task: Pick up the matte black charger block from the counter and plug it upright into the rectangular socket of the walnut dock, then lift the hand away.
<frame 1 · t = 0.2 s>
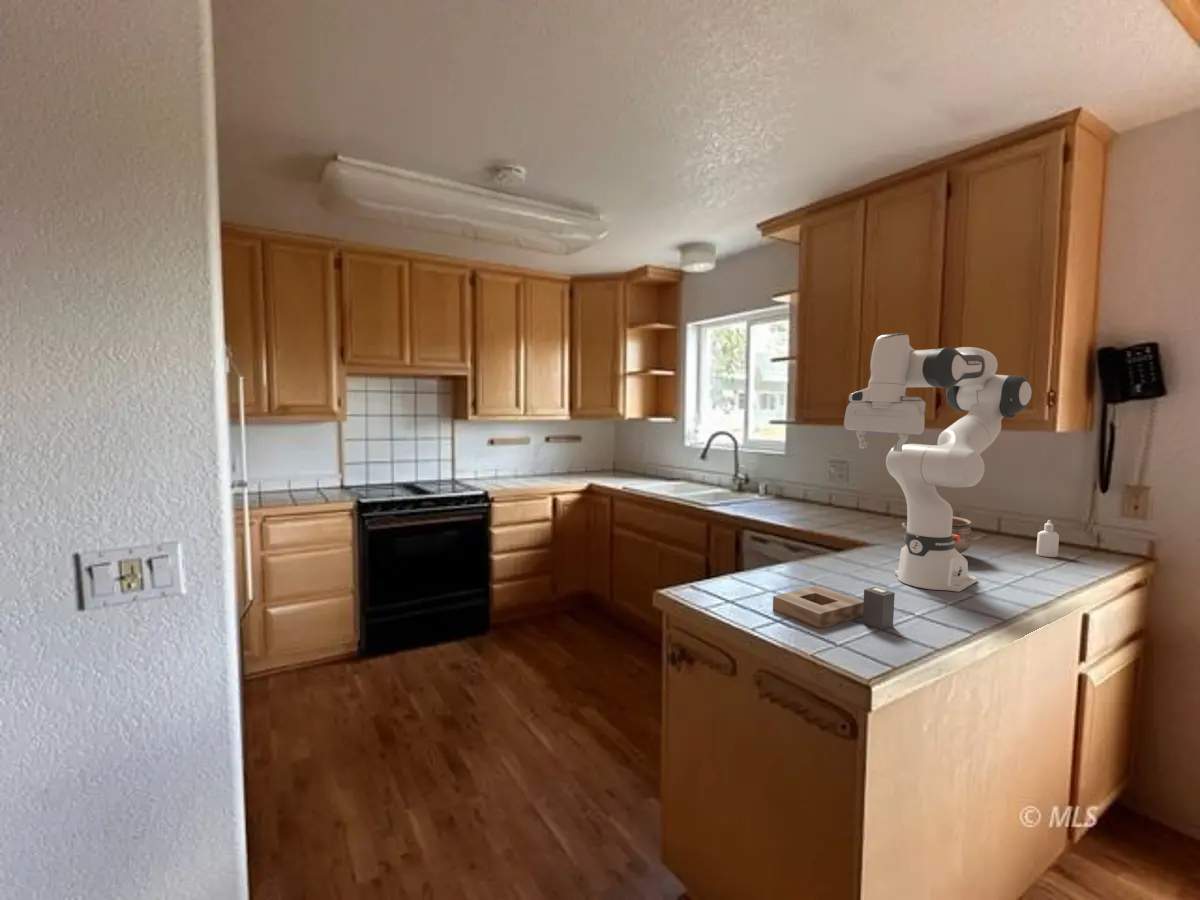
hand: (879, 450, 156), 39 cm above the counter, tool pointing down, fingers open, 8 cm apart
dock: (817, 612, 147), on the counter
eye dropper bottle: (1046, 556, 200), on the counter
cooking pot: (938, 556, 200), on the counter
charger: (877, 624, 140), on the counter
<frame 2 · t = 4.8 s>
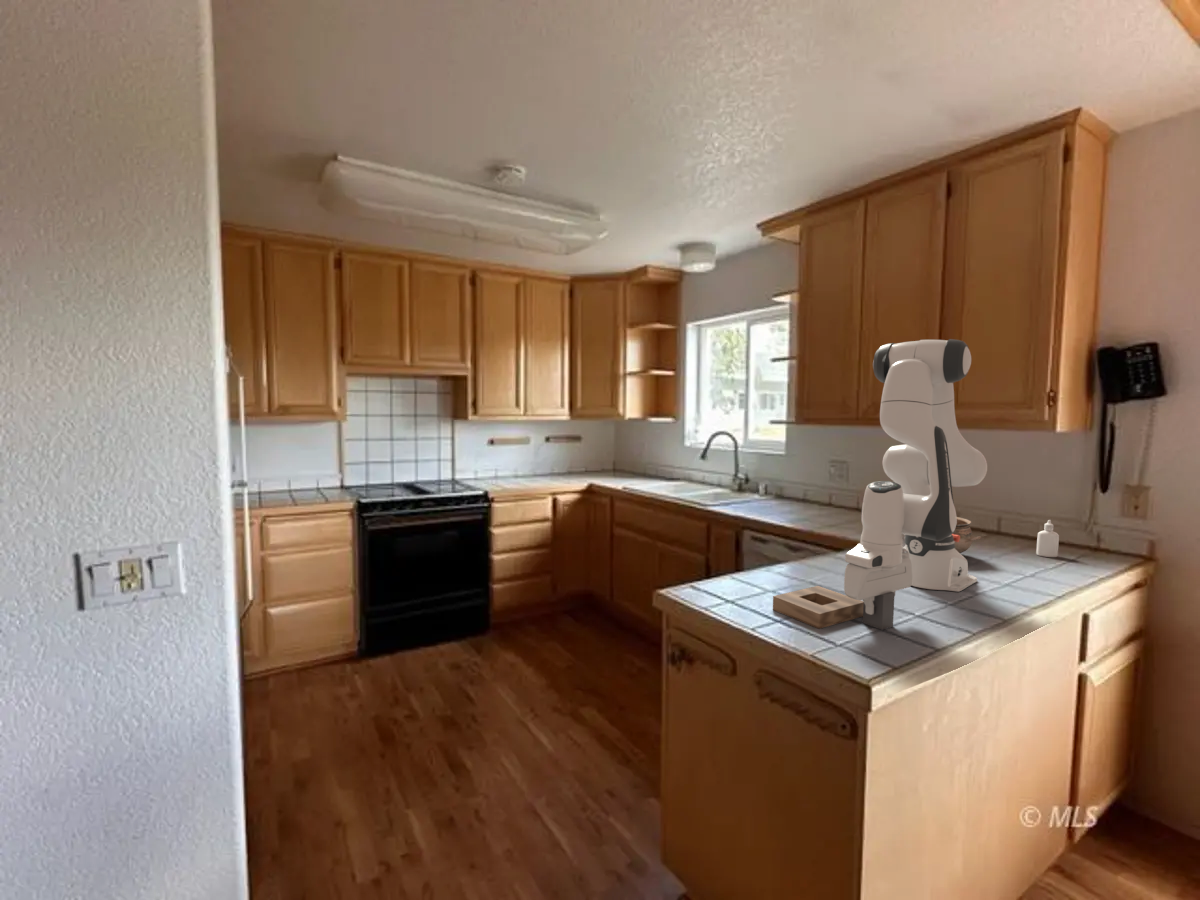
hand: (878, 611, 140), 3 cm above the counter, tool pointing down, fingers closed on charger, 4 cm apart
charger: (877, 624, 140), on the counter, touching gripper
everything else where it was.
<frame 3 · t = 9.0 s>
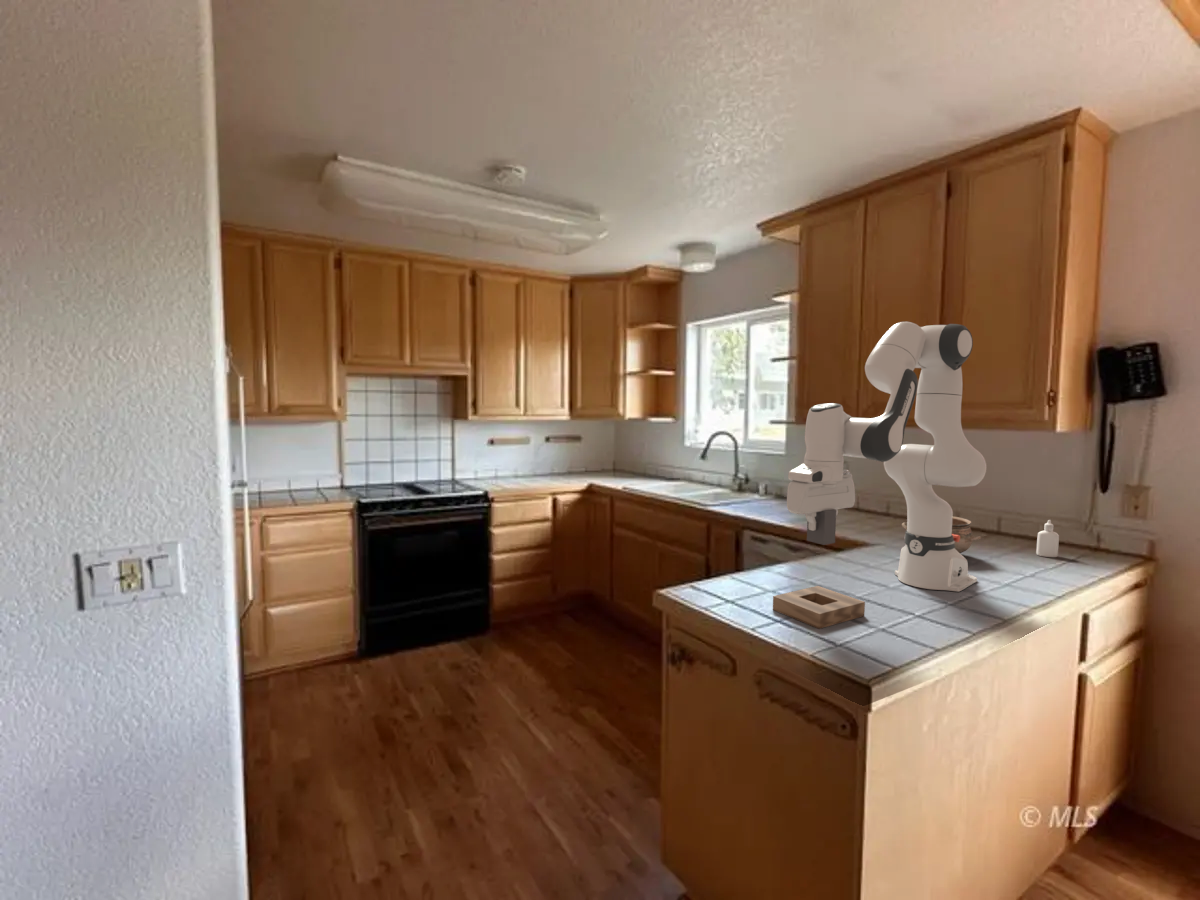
hand: (821, 528, 145), 21 cm above the counter, tool pointing down, fingers closed on charger, 4 cm apart
charger: (820, 541, 146), point 18 cm above the counter, touching gripper
everything else where it was.
when the fingers open (5 cm above the counter, at t = 13.4 s): charger drops 1 cm, resting on dock.
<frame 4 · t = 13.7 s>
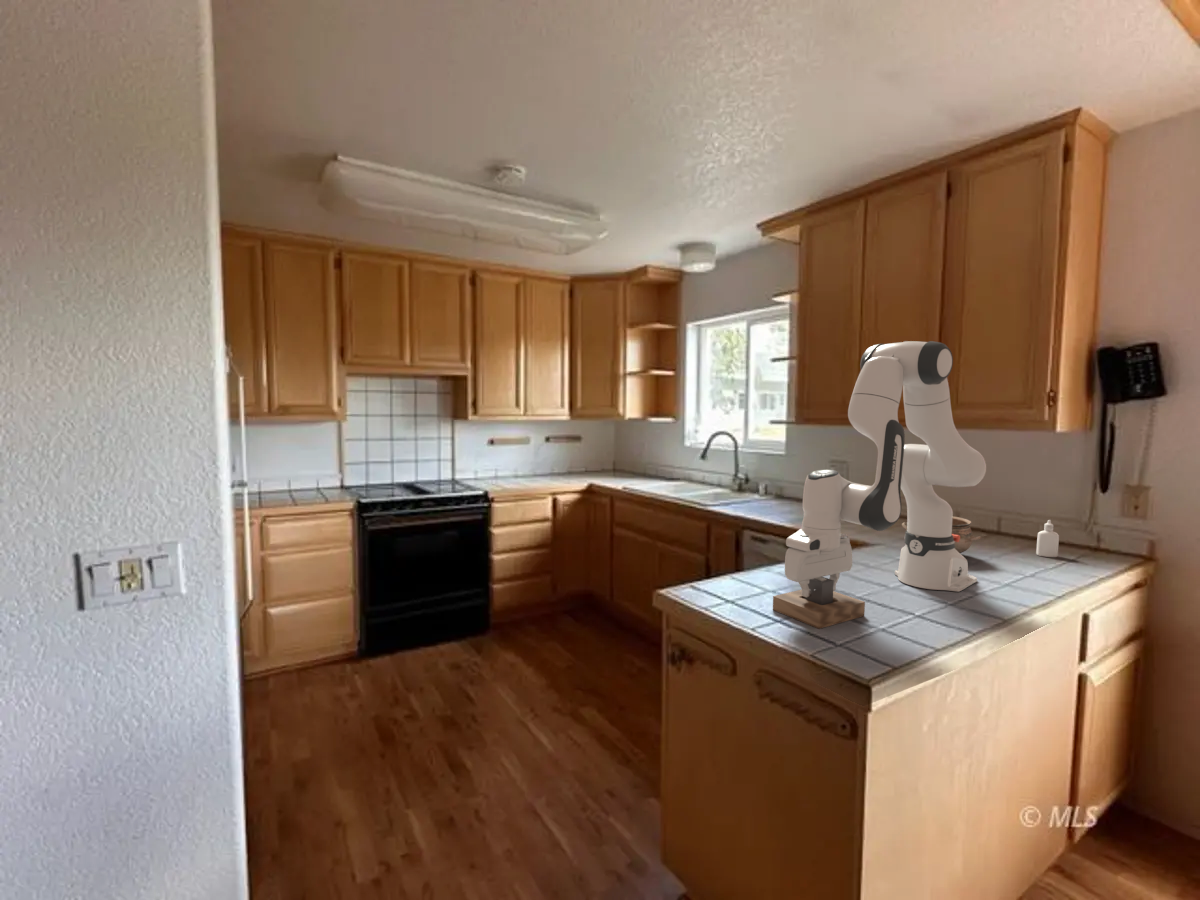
hand: (818, 593, 147), 5 cm above the counter, tool pointing down, fingers open, 7 cm apart
charger: (818, 610, 147), resting on dock
everything else where it was.
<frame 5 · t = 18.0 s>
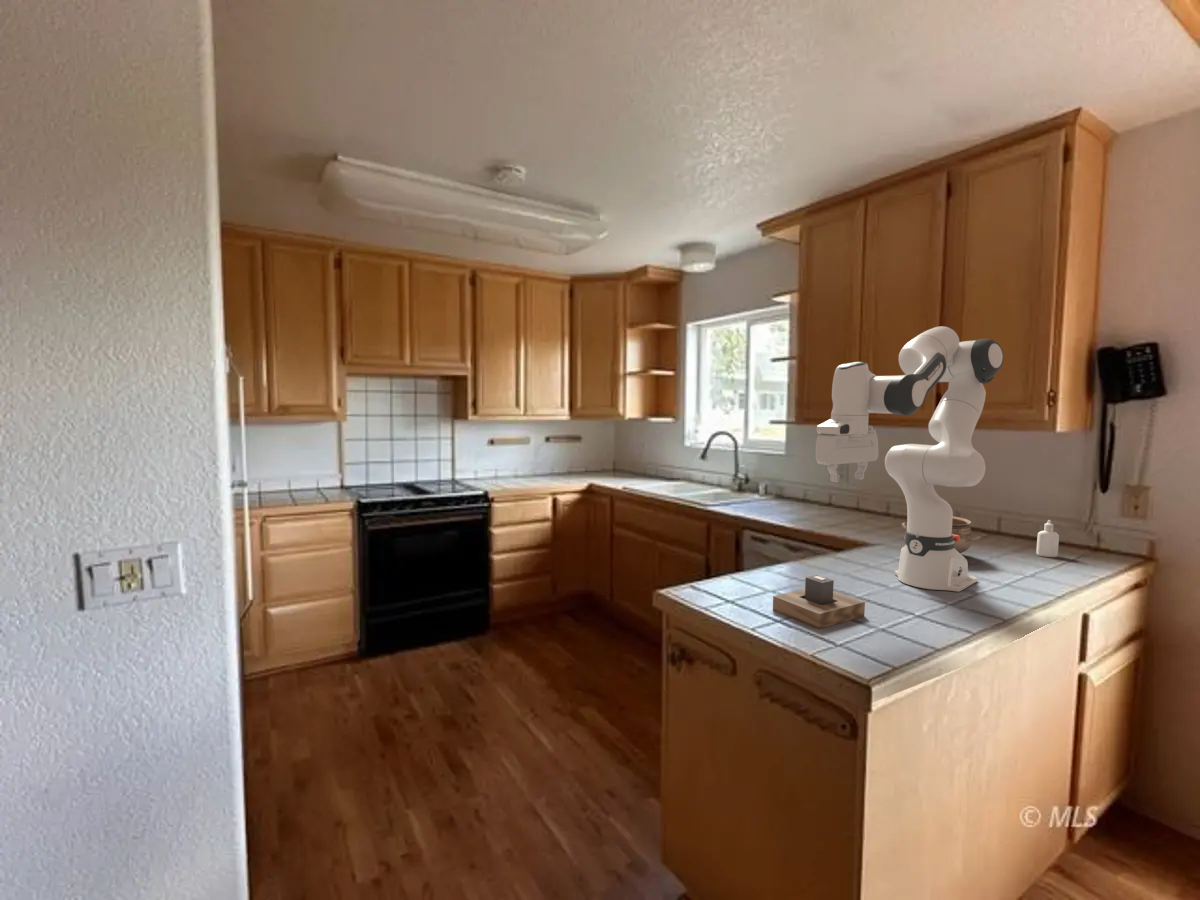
hand: (846, 480, 155), 31 cm above the counter, tool pointing down, fingers open, 8 cm apart
nothing on the counter moved.
at the end: charger 0.1 cm off-centre on the dock, point 0.5 cm above the dock's base; charger tilted 0°; the gripper is holding nothing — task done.
